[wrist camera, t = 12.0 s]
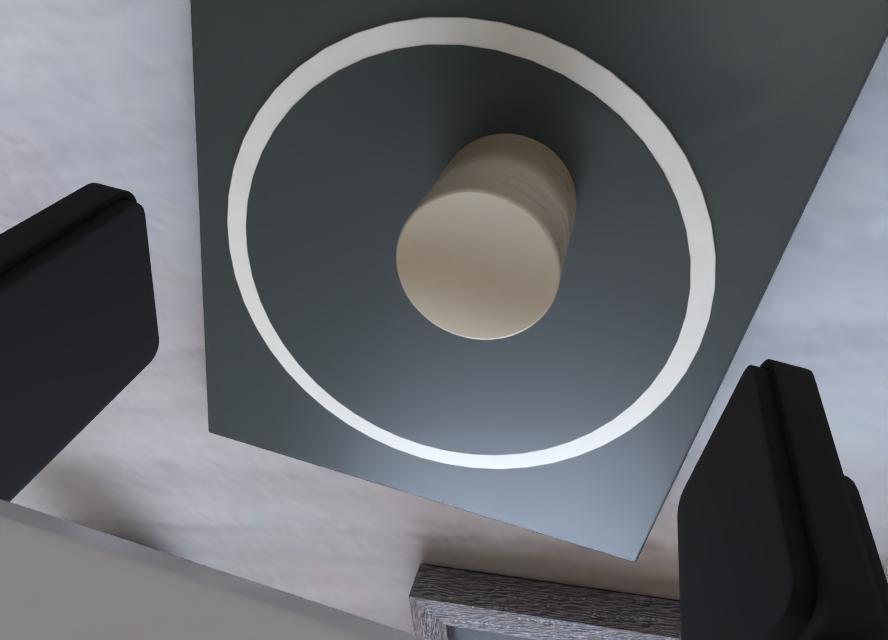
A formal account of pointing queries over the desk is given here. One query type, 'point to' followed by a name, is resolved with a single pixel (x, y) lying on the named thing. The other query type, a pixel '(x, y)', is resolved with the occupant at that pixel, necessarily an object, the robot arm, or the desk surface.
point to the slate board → (588, 255)
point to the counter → (489, 238)
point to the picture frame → (532, 610)
